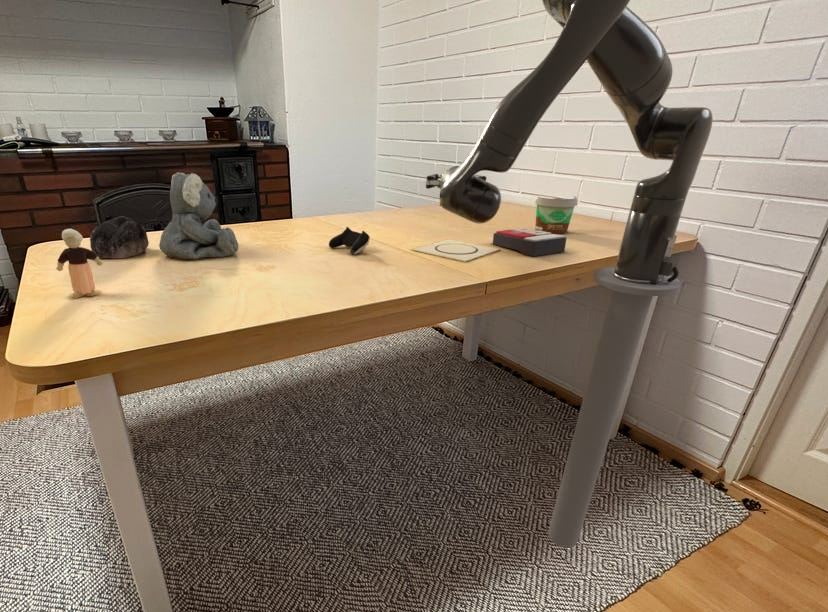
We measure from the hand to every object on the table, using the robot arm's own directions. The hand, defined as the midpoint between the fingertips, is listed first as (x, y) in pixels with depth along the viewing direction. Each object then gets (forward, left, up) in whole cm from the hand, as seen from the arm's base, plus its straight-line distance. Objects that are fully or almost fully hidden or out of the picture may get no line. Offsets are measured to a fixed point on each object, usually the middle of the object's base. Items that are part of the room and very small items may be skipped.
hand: (451, 178), depth 113 cm
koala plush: (+43, +46, -18) cm, 66 cm away
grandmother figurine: (+29, +77, -18) cm, 85 cm away
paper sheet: (-2, -3, -18) cm, 18 cm away
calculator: (-14, -18, -18) cm, 28 cm away
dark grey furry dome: (+57, +60, -18) cm, 85 cm away
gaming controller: (+18, +16, -18) cm, 31 cm away
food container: (-11, -41, -18) cm, 46 cm away
